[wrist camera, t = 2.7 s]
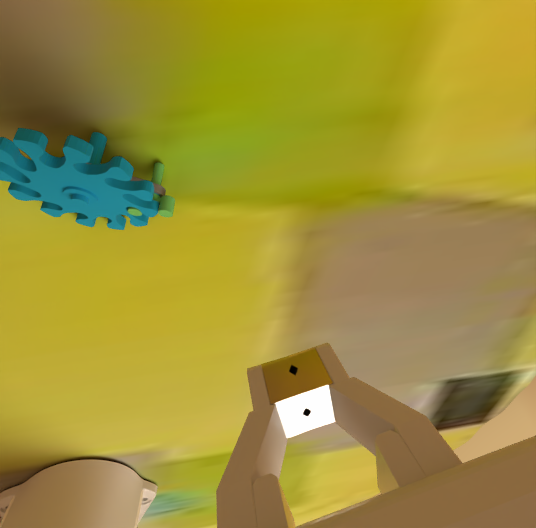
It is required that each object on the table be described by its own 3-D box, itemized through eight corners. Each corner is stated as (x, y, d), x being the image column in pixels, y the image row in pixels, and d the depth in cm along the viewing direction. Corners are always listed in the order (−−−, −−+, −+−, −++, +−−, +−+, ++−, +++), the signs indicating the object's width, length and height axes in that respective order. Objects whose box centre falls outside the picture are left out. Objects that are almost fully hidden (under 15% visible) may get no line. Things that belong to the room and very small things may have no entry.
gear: (5, 216, 21) (-57, 118, 13) (31, 154, 23) (-9, 36, 15) (159, 247, 26) (185, 192, 18) (168, 194, 28) (195, 123, 20)
